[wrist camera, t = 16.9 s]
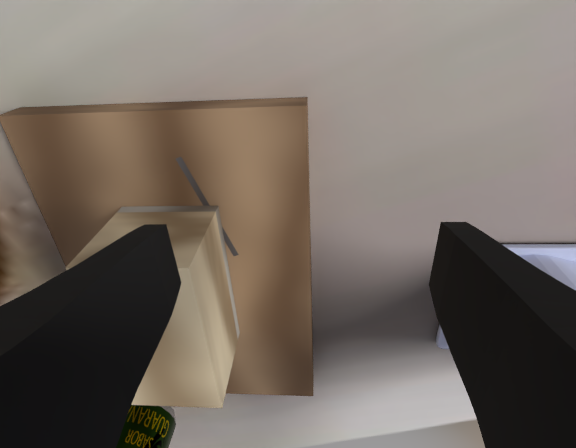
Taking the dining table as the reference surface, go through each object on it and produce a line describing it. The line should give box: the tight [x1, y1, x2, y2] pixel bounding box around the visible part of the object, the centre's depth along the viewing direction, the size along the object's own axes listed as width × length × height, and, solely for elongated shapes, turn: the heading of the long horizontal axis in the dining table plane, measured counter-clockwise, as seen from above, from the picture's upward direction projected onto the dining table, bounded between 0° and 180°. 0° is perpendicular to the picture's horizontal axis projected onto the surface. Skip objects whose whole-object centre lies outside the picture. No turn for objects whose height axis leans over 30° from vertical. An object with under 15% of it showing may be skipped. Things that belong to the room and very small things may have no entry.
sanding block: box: [66, 206, 240, 408], centre depth 19 cm, size 5×9×5 cm, turn 3°
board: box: [0, 97, 313, 396], centre depth 22 cm, size 14×20×2 cm
